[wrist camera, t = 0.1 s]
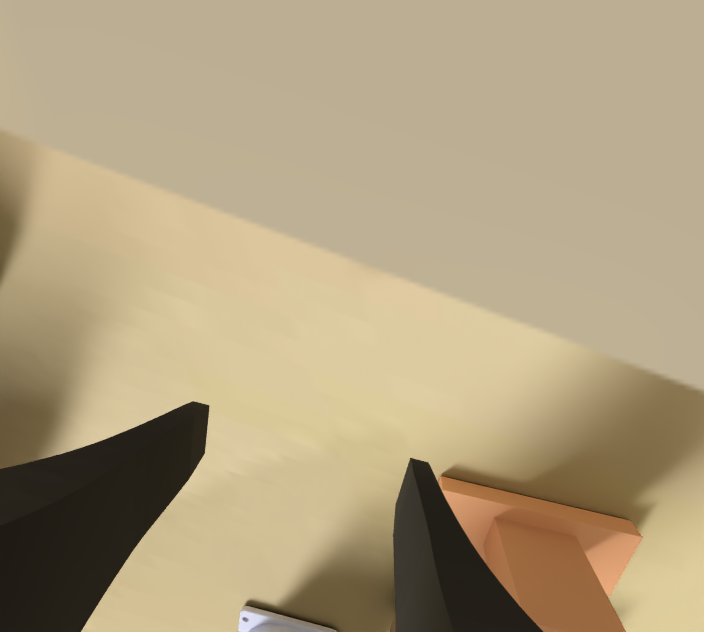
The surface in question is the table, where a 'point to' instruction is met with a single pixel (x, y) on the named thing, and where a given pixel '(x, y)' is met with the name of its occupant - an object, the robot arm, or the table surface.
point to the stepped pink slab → (547, 554)
